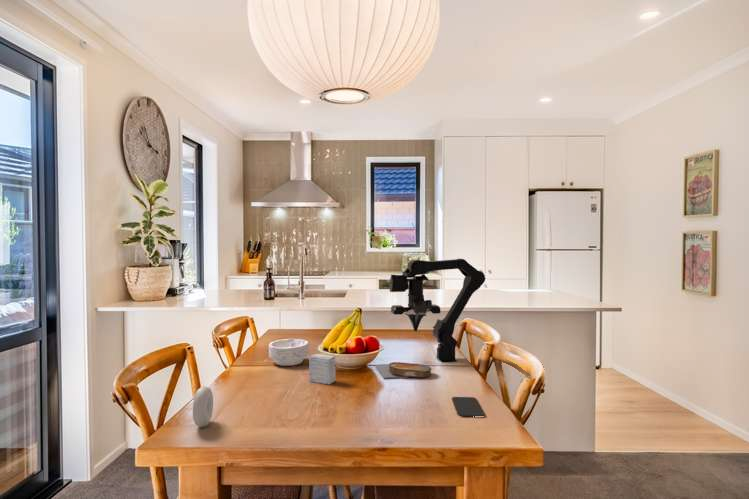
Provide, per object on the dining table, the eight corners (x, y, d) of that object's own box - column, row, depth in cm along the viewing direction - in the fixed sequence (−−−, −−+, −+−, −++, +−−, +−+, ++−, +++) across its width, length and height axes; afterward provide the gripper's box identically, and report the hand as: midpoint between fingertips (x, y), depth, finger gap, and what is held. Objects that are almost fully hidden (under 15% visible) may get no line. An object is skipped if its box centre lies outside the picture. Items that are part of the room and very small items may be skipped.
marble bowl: (260, 365, 173) (260, 345, 173) (283, 356, 187) (283, 337, 187) (295, 370, 167) (295, 349, 167) (315, 360, 181) (315, 340, 181)
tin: (430, 365, 167) (432, 370, 158) (429, 374, 166) (431, 379, 158) (389, 361, 167) (389, 365, 159) (388, 369, 167) (388, 374, 159)
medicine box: (335, 381, 155) (335, 356, 155) (329, 385, 151) (329, 359, 151) (315, 378, 158) (316, 353, 158) (308, 381, 154) (308, 356, 154)
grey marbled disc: (201, 418, 123) (201, 381, 123) (214, 417, 123) (214, 380, 123) (190, 434, 113) (190, 394, 113) (205, 433, 113) (205, 393, 113)
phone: (475, 397, 140) (485, 415, 125) (475, 399, 140) (485, 418, 125) (451, 396, 140) (458, 415, 125) (451, 399, 140) (458, 418, 125)
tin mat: (397, 365, 175) (397, 363, 175) (408, 377, 159) (408, 376, 159) (374, 366, 173) (374, 364, 173) (383, 379, 158) (383, 377, 158)
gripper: (397, 294, 170) (397, 336, 171) (445, 293, 174) (444, 334, 174) (390, 291, 181) (390, 330, 182) (436, 290, 185) (435, 328, 185)
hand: (415, 331), depth 180 cm, fingers closed
